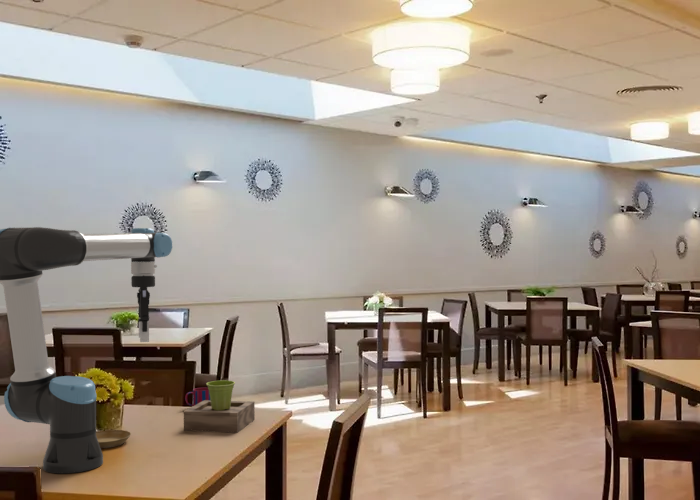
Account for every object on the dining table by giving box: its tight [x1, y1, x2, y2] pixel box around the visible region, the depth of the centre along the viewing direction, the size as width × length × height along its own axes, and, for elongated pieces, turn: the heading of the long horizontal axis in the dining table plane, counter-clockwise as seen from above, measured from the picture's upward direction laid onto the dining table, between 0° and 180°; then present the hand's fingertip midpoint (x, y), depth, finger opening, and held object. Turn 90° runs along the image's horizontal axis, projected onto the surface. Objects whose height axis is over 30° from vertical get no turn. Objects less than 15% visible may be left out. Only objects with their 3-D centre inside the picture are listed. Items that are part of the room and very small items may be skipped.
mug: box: [184, 387, 210, 407], centre depth 272 cm, size 7×10×7 cm
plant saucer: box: [96, 429, 132, 449], centre depth 222 cm, size 15×15×3 cm
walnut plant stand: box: [183, 400, 256, 433], centre depth 245 cm, size 18×18×6 cm
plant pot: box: [205, 379, 236, 411], centre depth 246 cm, size 9×9×9 cm
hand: (143, 339), depth 243 cm, fingers open, 13 cm apart
